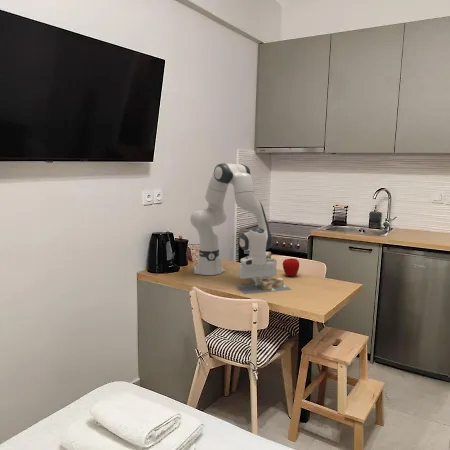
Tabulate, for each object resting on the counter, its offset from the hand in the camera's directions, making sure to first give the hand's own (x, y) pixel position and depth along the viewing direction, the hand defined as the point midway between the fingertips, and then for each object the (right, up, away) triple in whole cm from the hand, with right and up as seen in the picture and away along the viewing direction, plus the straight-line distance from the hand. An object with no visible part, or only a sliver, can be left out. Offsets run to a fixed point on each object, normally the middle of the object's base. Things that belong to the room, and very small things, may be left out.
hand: (257, 285), depth 219 cm
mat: (+3, -2, +1) cm, 4 cm away
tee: (+7, -1, +2) cm, 8 cm away
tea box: (+3, 0, +21) cm, 21 cm away
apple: (+21, +2, +27) cm, 35 cm away
